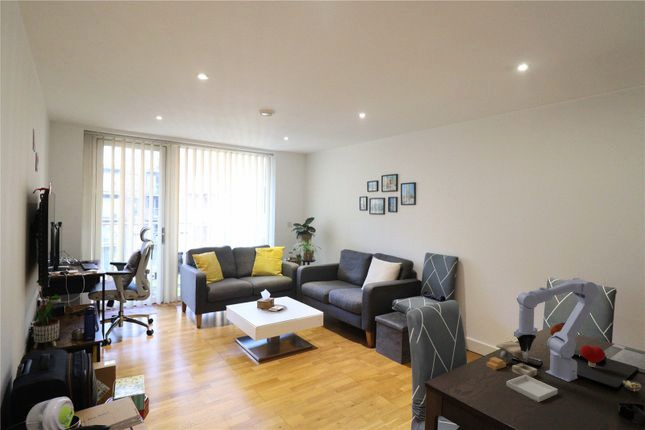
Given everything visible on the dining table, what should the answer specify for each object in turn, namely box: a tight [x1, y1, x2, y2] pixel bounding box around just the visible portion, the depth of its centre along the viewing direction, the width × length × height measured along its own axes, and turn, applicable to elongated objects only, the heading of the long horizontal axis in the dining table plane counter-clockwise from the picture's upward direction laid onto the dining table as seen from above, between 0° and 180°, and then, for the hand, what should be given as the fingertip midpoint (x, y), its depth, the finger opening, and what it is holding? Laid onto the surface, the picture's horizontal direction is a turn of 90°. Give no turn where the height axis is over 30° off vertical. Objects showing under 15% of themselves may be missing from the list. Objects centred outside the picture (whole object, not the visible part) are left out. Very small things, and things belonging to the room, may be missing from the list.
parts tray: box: [505, 375, 559, 403], centre depth 138 cm, size 13×13×2 cm
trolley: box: [496, 340, 529, 365], centre depth 164 cm, size 9×14×7 cm, turn 118°
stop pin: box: [522, 345, 529, 360], centre depth 152 cm, size 2×2×6 cm
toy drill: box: [549, 321, 566, 354], centre depth 179 cm, size 5×19×15 cm, turn 126°
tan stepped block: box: [485, 356, 507, 371], centre depth 159 cm, size 8×4×4 cm, turn 118°
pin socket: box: [511, 362, 538, 378], centre depth 153 cm, size 7×7×2 cm
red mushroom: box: [580, 344, 606, 368], centre depth 160 cm, size 9×7×10 cm
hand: (525, 350), depth 152 cm, fingers closed on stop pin, 2 cm apart
